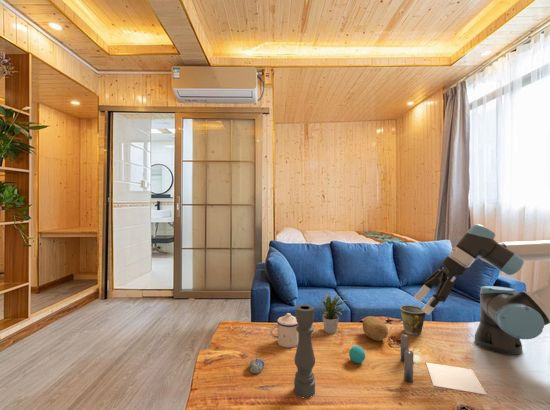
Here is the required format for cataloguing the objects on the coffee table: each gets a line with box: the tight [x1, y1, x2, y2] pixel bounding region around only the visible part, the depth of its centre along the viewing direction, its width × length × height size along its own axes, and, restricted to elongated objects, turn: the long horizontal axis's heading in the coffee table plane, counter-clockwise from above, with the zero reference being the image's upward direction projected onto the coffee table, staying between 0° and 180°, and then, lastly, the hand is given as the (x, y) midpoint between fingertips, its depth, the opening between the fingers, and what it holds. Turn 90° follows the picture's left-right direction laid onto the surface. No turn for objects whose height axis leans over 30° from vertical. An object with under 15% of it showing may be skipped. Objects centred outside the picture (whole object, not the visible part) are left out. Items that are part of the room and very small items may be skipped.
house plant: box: [316, 293, 347, 334], centre depth 132 cm, size 14×14×16 cm
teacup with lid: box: [269, 312, 299, 349], centre depth 121 cm, size 12×9×12 cm
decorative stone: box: [249, 357, 265, 375], centre depth 102 cm, size 6×4×5 cm
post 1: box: [400, 333, 410, 363], centre depth 108 cm, size 3×3×9 cm
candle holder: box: [293, 303, 316, 399], centre depth 90 cm, size 6×6×25 cm
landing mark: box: [425, 362, 488, 396], centre depth 98 cm, size 14×14×1 cm
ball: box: [348, 345, 366, 364], centre depth 107 cm, size 6×6×6 cm
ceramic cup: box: [400, 304, 426, 336], centre depth 131 cm, size 13×10×10 cm
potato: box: [362, 315, 389, 342], centre depth 126 cm, size 10×14×8 cm
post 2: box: [403, 350, 414, 384], centre depth 96 cm, size 3×3×9 cm
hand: (420, 305), depth 116 cm, fingers open, 13 cm apart
